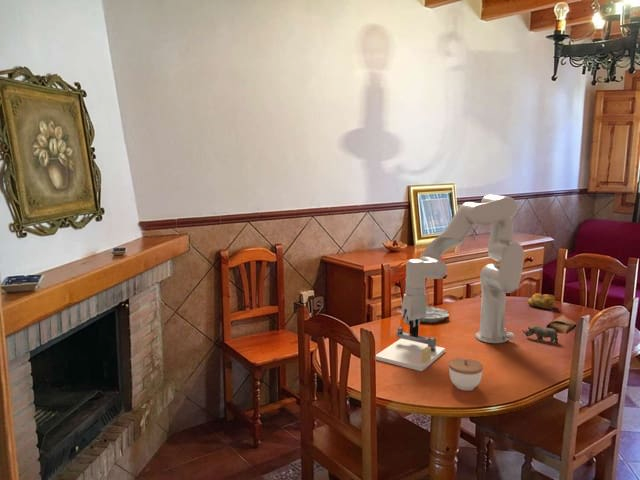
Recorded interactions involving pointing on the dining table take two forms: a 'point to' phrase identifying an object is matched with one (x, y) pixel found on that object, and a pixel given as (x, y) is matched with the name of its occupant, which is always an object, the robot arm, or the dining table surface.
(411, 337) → the bar
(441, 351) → the door board
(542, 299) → the bread roll
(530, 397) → the dining table surface
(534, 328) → the rhino figurine
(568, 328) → the sunglasses case
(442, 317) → the brain slice
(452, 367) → the lidded jar
